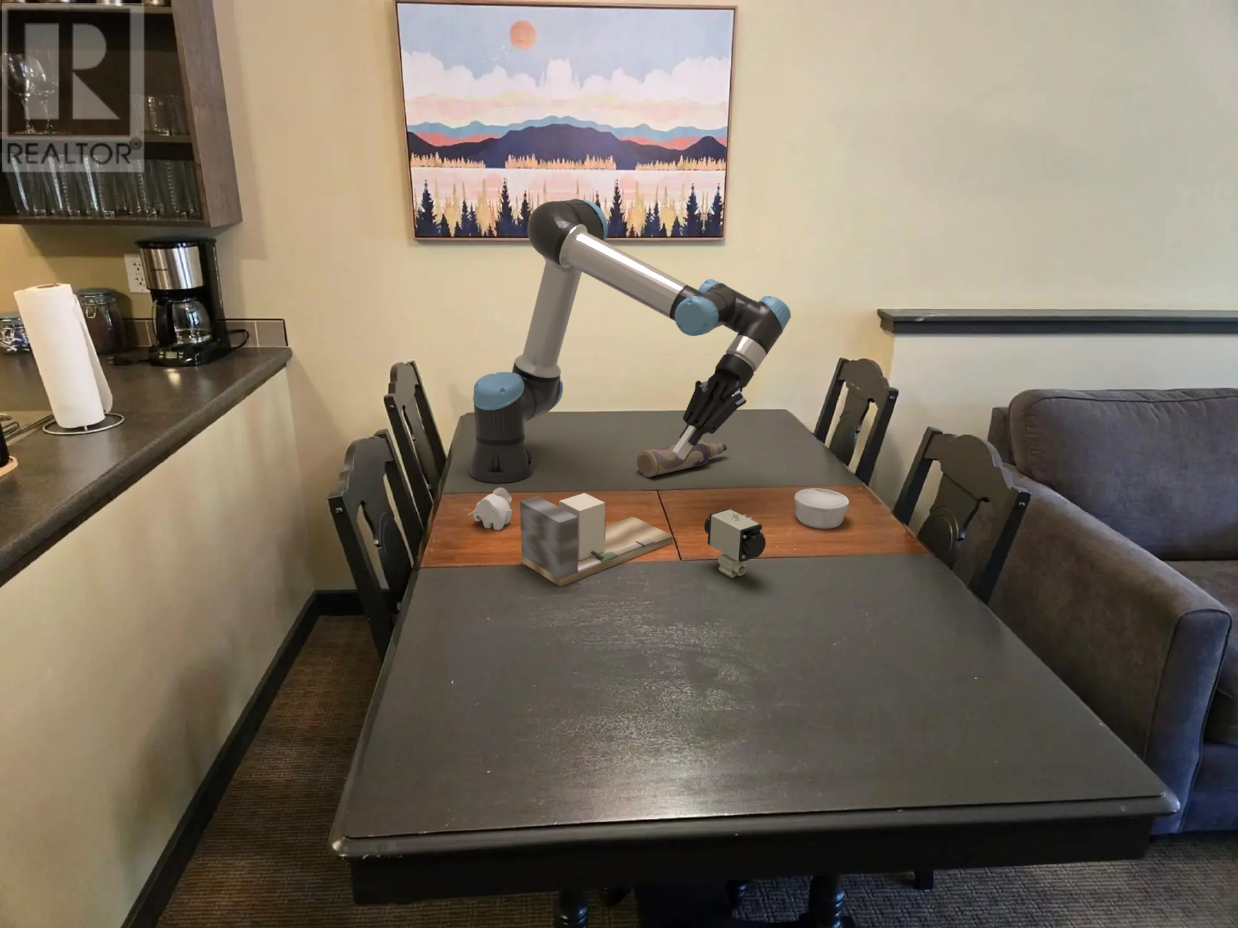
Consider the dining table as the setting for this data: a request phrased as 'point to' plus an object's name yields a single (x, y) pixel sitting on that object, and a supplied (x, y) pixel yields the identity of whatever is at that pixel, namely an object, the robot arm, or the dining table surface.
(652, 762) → the dining table surface
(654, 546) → the board
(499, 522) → the elephant figurine
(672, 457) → the decorative bottle
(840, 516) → the ramekin
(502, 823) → the dining table surface
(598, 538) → the block
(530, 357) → the robot arm
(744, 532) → the pneumatic valve
